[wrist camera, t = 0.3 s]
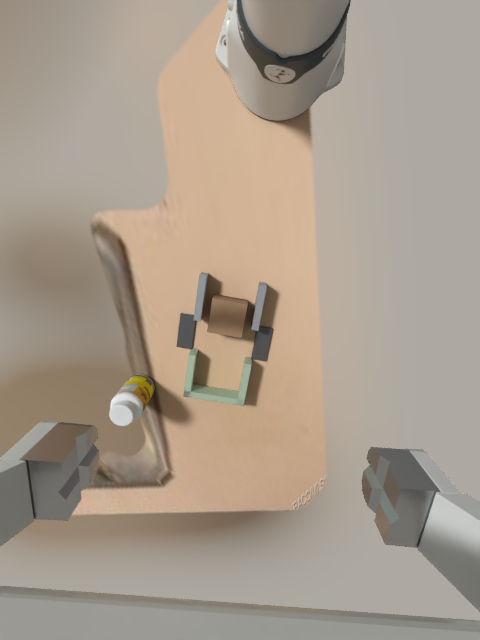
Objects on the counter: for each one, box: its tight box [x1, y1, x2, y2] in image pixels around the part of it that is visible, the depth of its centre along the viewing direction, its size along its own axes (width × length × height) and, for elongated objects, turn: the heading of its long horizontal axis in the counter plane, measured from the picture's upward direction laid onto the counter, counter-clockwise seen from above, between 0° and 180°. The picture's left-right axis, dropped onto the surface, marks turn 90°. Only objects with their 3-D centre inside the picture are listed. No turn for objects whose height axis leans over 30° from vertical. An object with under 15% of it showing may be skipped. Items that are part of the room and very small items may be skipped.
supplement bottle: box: [109, 374, 154, 426], centre depth 54 cm, size 6×6×10 cm
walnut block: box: [207, 294, 248, 338], centre depth 53 cm, size 6×6×4 cm
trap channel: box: [177, 272, 273, 406], centre depth 55 cm, size 23×17×3 cm
